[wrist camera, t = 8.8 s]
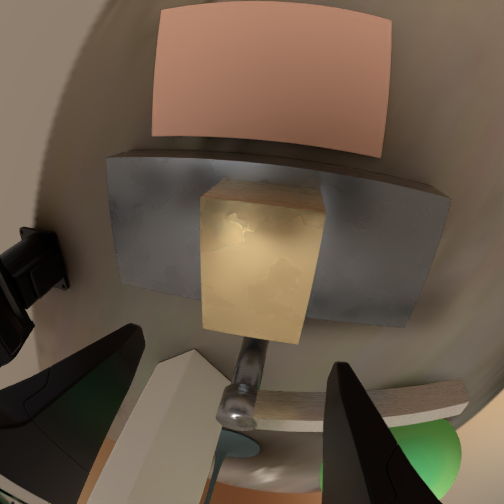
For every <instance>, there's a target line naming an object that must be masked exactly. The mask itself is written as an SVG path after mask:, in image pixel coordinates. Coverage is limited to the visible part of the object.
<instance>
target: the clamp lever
mask: <svg viewBox="0 0 504 504" xmlns="http://www.w3.org/2000/svg"><path fill="white" fill-rule="evenodd" d="M366 392H367V394H368V395H369V397H370V398H371V400H372V402H373V403H374V405H375V406H376V408H377V410H378V411H379V413H380V414H381V416H382V418H383V419H384V421H385V423H386V424H387V426H388V427H397V426H404V425H410V424H417V423H422V422H428V421H433V420H438V419H442V418H447V417H451V416H455V415H459V414H461V412H462V411H463V410H464V408H465V407H466V406H467V404H468V403H469V400H468V397H467V394H466V391H465V388H464V386H463V383H462V380H461V378H459V379H454V380H449V381H444V382H438V383H432V384H425V385H418V386H411V387H402V388H393V389H382V390H369V391H366ZM325 400H326V392H284V391H265V390H257V389H256V388H254V387H252V386H249V385H245V384H231V385H228V386H226V387H225V388H224V391H223V394H222V398H221V401H220V404H219V407H218V411H217V414H216V420H217V421H218V422H219V423H220V424H221V425H223V426H225V427H227V428H230V429H233V430H238V431H249V430H253V429H262V430H275V431H296V432H323V419H324V410H325Z"/></svg>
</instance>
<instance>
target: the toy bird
mask: <svg viewBox="0 0 504 504" xmlns="http://www.w3.org/2000/svg"><path fill="white" fill-rule="evenodd" d="M389 429H390V431H391V432H392V434H393V436H394V437H395V439H396V441H397V442H398V443H397V444H399V445H400V447H401V449H402V450H403V452H404V454H405V455H406V457H407V458H408V460H409V461H410V463H411V465H412V466H413V467H414V469H415V470H416V471H417V473H418V474H419V475H420V477H421V478H422V479H423V481H424V482H425V483H426V484H427V486H428V487H429V488H430V489H431V491H432V492H433V493H434V494H435V496H436V497H437V498H438V499H439V500H440V499H441V498H442V497H443V496H444V495H445V494H446V493H447V491H448V490H449V489H450V487H451V486H452V484H453V482H454V481H455V479H456V476H457V474H458V471H459V468H460V464H461V444H460V441H459V437H458V435H457V433H456V431H455V429H454V428H453V426H452V425H451V424H450V423H449V422H448V421H447V420H446V419H445V418H442V419H438V420H433V421H428V422H422V423H417V424H410V425H404V426H397V427H389ZM319 479H320V487H321V491H322V483H323V461H322V464H321V468H320V475H319Z"/></svg>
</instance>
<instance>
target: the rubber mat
mask: <svg viewBox="0 0 504 504" xmlns="http://www.w3.org/2000/svg"><path fill="white" fill-rule="evenodd" d="M390 67H391V20H388V19H384V18H381V17H377V16H373V15H369V14H365V13H360V12H356V11H351V10H345V9H340V8H334V7H328V6H320V5H312V4H303V3H291V2H273V1H237V2H219V3H207V4H198V5H190V6H183V7H176V8H171V9H165V10H162V11H161V18H160V25H159V33H158V41H157V51H156V61H155V74H154V89H153V111H152V136H207V137H229V138H244V139H257V140H268V141H278V142H287V143H295V144H303V145H310V146H317V147H324V148H330V149H336V150H342V151H347V152H353V153H358V154H363V155H368V156H373V157H378V158H381V153H382V147H383V140H384V132H385V124H386V116H387V106H388V96H389V83H390Z"/></svg>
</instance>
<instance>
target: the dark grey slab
mask: <svg viewBox="0 0 504 504" xmlns="http://www.w3.org/2000/svg"><path fill="white" fill-rule="evenodd" d="M106 170H107V184H108V196H109V206H110V215H111V223H112V231H113V238H114V245H115V251H116V257H117V263H118V269H119V274H120V279H121V284H125V285H129V286H133V287H138V288H142V289H147V290H151V291H156V292H161V293H165V294H170V295H175V296H180V297H185V298H190V299H195V300H201V301H202V294H201V257H200V197H201V196H203V195H204V194H205V193H206V192H208V191H209V190H210V189H211V188H212V187H214V186H215V185H216V184H217V183H219V182H220V181H221V180H223V179H228V180H238V181H248V182H258V183H266V184H275V185H283V186H291V187H298V188H305V189H312V190H319V191H321V194H322V198H323V202H324V206H325V210H326V217H325V222H324V228H323V233H322V239H321V244H320V249H319V254H318V259H317V264H316V269H315V274H314V279H313V283H312V288H311V293H310V297H309V301H308V306H307V310H306V314H305V317H307V318H314V319H322V320H331V321H339V322H348V323H358V324H368V325H379V326H390V327H403V328H405V326H406V324H407V322H408V320H409V318H410V315H411V313H412V311H413V309H414V306H415V304H416V302H417V300H418V297H419V295H420V293H421V290H422V288H423V285H424V283H425V280H426V278H427V275H428V272H429V270H430V267H431V264H432V262H433V259H434V256H435V253H436V250H437V247H438V244H439V241H440V238H441V235H442V231H443V228H444V225H445V221H446V218H447V214H448V210H449V206H450V203H451V198H449V197H448V196H446V195H445V194H443V193H442V192H440V191H438V190H437V189H435V188H434V187H432V186H430V185H427V184H423V183H419V182H415V181H411V180H407V179H402V178H398V177H394V176H389V175H385V174H380V173H375V172H370V171H365V170H360V169H355V168H349V167H343V166H338V165H331V164H325V163H319V162H312V161H305V160H297V159H290V158H281V157H272V156H263V155H252V154H240V153H227V152H210V151H186V150H131V151H127V152H123V153H120V154H116V155H113V156H110V157H106ZM268 341H269V340H265V339H258V338H252V337H246V336H244V340H243V343H242V347H241V350H240V354H239V357H238V361H237V364H236V368H235V371H234V374H233V378H232V381H231V384H245V385H249V386H252V387H254V388H256V389H257V390H259V388H260V383H261V378H262V373H263V368H264V363H265V358H266V352H267V347H268Z"/></svg>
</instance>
